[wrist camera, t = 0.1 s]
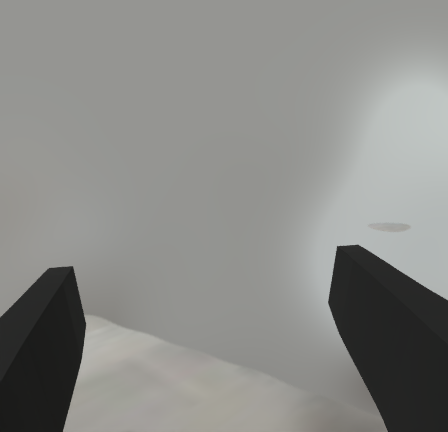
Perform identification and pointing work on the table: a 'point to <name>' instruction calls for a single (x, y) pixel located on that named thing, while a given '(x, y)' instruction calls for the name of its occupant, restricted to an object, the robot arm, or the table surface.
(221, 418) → the table surface
